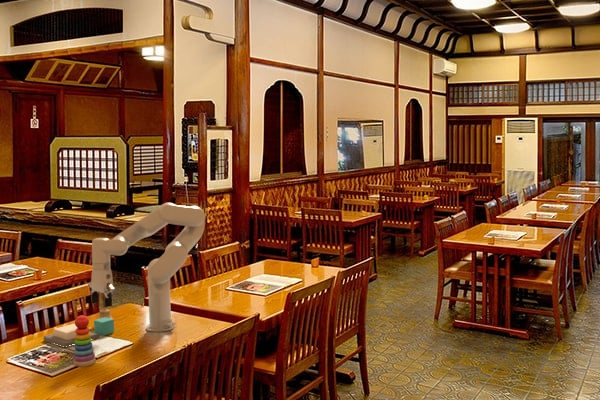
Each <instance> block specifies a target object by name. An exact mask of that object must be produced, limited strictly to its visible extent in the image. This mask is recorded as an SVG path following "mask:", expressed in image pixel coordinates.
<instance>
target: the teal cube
mask: <svg viewBox="0 0 600 400" xmlns="http://www.w3.org/2000/svg"><path fill="white" fill-rule="evenodd" d="M93 327H94V328H93V329H94V331H93V332H95V333H99V336H103V337H104V336H107V335H111V334H114V333H115V319H114V318H113V319H111V318H107V317H104V318H101V319H98V318H97V319H94V320H93Z"/></svg>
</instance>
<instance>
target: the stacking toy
mask: <svg viewBox="0 0 600 400" xmlns="http://www.w3.org/2000/svg"><path fill="white" fill-rule="evenodd" d="M74 323H75V325H76V327H77V329H76V330H75V332H76V336H75V338H76V340H75V345H74V350H73V354H74V356H73V362H72V363H73V365H74V366H75V367H81V368H82V367H88V366H91V365H93V364H95V363H96V361H97V360H96V357H95V356H96V355H95V352H94V347H93V342H92V340H91V338H90V337H91V334H90V333H89V331H91V330H90V327H89V325H90V324H89V323H90V319H89V318H88V316H86V315H79V316H77V317H76V318H75V320H74Z"/></svg>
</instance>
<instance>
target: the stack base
mask: <svg viewBox="0 0 600 400" xmlns="http://www.w3.org/2000/svg"><path fill="white" fill-rule="evenodd" d="M76 329H77V327H76V325H75V322H74V323H71V324H68V325H64V326H60V327H57V328H56V327H55V328H53V333H50V334H48V335H44V336H43V341H44V342H46V343H48V344H51V343H55V344H58V345H61V346H64V347H66V346H69V345H72V344H75V340H76V338H75V336H76V332H75V330H76ZM89 333H90V334H91V337H90V338H91V339H94V340H96V339H95V338H98V339H99V338H100V335H99V333H95V332H94V331H91V330H89Z"/></svg>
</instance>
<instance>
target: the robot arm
mask: <svg viewBox="0 0 600 400" xmlns="http://www.w3.org/2000/svg"><path fill="white" fill-rule="evenodd" d="M205 220H206V214H205V212H204V210H203V209H202V208H201V207H200V206H198V205H190V206H186V205H177V204H175V203H173V202H165V203H162V204H160V206H158V207H156V208H155V209H153V210H152V211H151V212H149V213H148V214H146V215H145V216H143V217H142V218H141V219H139V220H138V221H136V222H135V223H133V224H132V225H130V226H128V227H127V228H126V229H124V230H122V231H121V232H119V233H118V234H117V235H115V237H113V238H112V239H110V238H108V237H95V238H93V239H92V240H91V241H92V242H91V258H92V259H91V261H92V262H91V263H92V264H91V265H92V266H91V267H92V270H91V281H90V282H88V286H89V291H90V295H91V304H97V303H99V293H100V294H102V293H104V294H105V296H106V298H105V307H107V308H110V307H112V306H113V297H114V294H115V291H116V289H115V287H114V282H113V281H114V280H113V273H112V269H111V256H123V255H125V254H126V253H127V251H128V249H129V248H130V247H131V246H132V245H134V244H135V243H137V242H138V241H141V240H142V239H144V238H148V237H151V236H152V235H154V234H155V233H157V232H158V231H160V230H161V229H163V228H164V227H165V226H167V225H168V224H171V225H177V226H184V228H183V229H181V232H179V234H177V236H175V238H174V239H173V240H172V241H171V242H170V243H168V245H167V246H166V247H165V251H164V253H163V254H162V255H161V256H160V257H158V258H154V259H152V260H151V261H150V262H149V264H147V265H148V266H147V286H148V287H147V288H148V319H149V324H147V325H146V326H145V329H146V330H147V331H148V332H152V333H153V332H154V333H157V332H158V333H160V332H161V333H162V332H166V331H167V332H168V331H171V330H172V329H174V328H175V327H176V324H177V323H176V322H174V321H173V318H172V311H171V310H172V309H171V281H170V280H171V278H172V277H173V276H174V275H175V274H176V273H177V272H178V271H179V269H180V268H182V266H183V265H184V264H185V262H186V261H187V259H188V254H189V252H190V251H191V250H192V249H193V247H194V246H195V245H197V243H198V241H200V239H201V237H202V236H203V234H204V231H205V226H206V221H205Z"/></svg>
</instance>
